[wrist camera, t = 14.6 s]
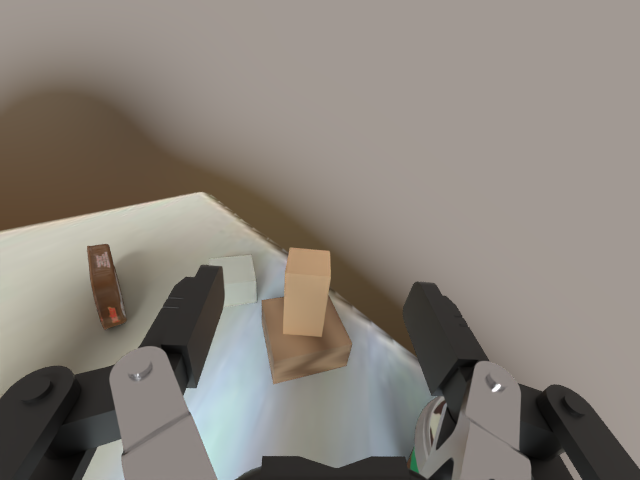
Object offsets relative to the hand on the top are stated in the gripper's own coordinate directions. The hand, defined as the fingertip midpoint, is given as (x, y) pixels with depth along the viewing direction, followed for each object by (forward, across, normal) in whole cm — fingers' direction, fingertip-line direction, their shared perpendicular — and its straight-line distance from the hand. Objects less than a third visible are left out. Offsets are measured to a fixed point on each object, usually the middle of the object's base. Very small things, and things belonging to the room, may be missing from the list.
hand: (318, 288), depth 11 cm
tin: (+22, +27, +28) cm, 45 cm away
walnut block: (+16, -2, +27) cm, 31 cm away
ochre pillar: (+16, -1, +22) cm, 27 cm away
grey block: (+26, +10, +27) cm, 39 cm away
